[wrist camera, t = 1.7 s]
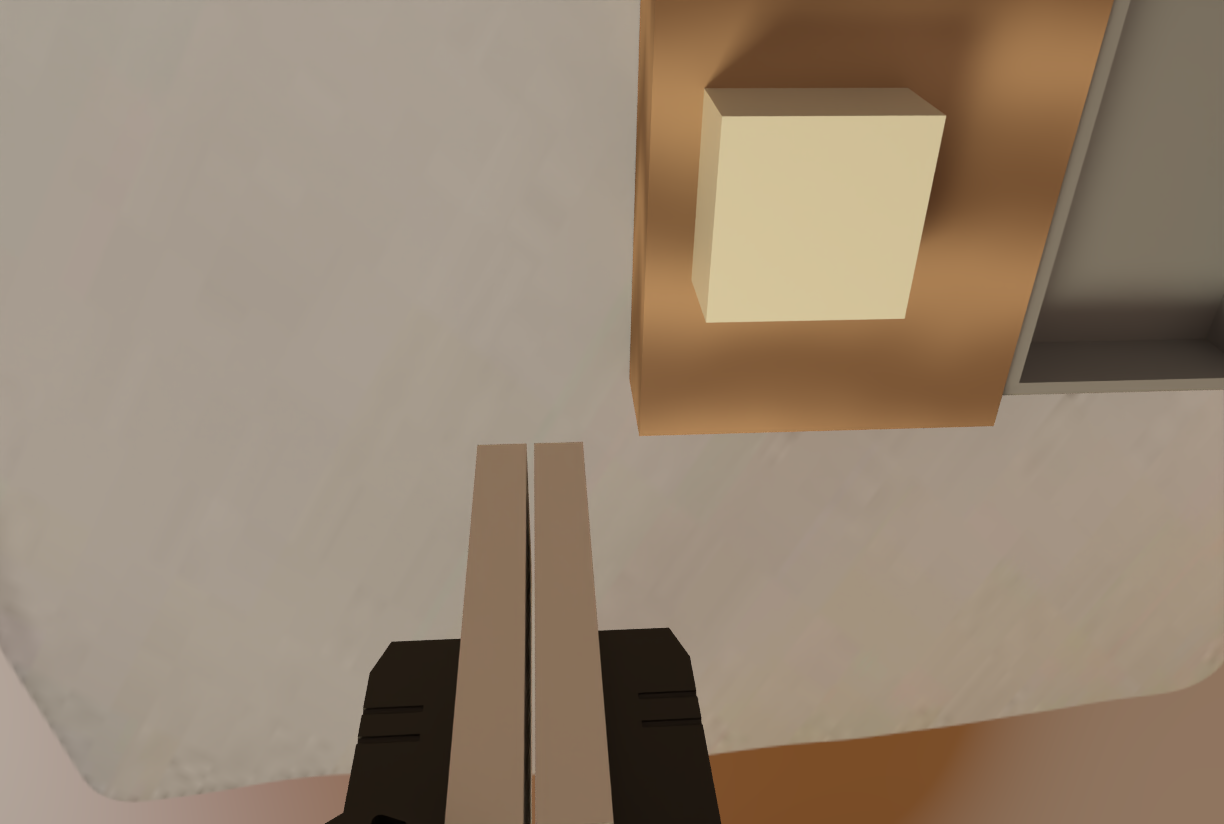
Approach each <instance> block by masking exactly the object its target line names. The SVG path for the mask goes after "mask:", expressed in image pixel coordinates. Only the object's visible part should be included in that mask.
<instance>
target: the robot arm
mask: <svg viewBox="0 0 1224 824" xmlns="http://www.w3.org/2000/svg"><path fill="white" fill-rule="evenodd" d="M534 506H535V780H536V784H535V785H536V787H535V788H536V789H535V790H536V824H721V821H720V814H719V809H718V804H717V799H716V793H715V788H714V783H713V778H712V772H711V767H710V762H709V756H708V751H707V745H706V740H705V735H704V729H703V725H702V723H701V713H700V708H699V703H698V697H697V696H696V687H695V682H694V676H693V671H692V666H691V660H690V656H689V655H688V653H687V652H686V651H685V649H684V648H683V646H682V645H681V644H680V642H679V641H678V640H677V638H676V637H675V635H674V634H673V633H672V631H671V630H670V629H669V628H651V629H627V630H604V631H598V624H597V612H596V599H595V587H594V575H593V562H592V550H591V538H590V525H589V513H588V501H587V488H586V476H585V464H584V451H583V442H567V443H534ZM325 824H532V565H531V541H530V517H529V493H528V469H527V445H526V444H497V445H478V446H477V457H476V469H475V480H474V492H473V503H472V515H471V526H470V538H469V549H468V561H467V572H466V584H465V595H464V607H463V618H462V630H461V639H445V640H422V641H398V642H391V643H390V645H389V646H388V648H387V649H386V651H385V652H384V653H383V655H382V656H381V658H380V659H379V661H378V662H377V664H376V665H375V666H374V668H373V669H372V671H371V672H370V675H369V680H368V685H367V691H366V696H365V701H364V707H363V715H362V717H361V722H360V728H359V733H358V744H356V749H355V754H354V759H353V765H352V770H351V775H350V781H349V786H348V792H347V796H346V802H345V807H344V812H343V813H342V814H340V815H339V816H337V817H335V818H334V819H332V820H330V821H329V822H327V823H325Z"/></svg>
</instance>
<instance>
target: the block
mask: <svg viewBox="0 0 1224 824" xmlns="http://www.w3.org/2000/svg"><path fill="white" fill-rule="evenodd" d="M945 119H946V115H945V114H944V113H942V112H941V111H939V110H938V109H937V108H935V107H934V106H932V105H931V104H930V103H928V102H927V101H925V100H924V99H923V98H921V97H920V96H919V95H917V94H916V93H914V92H913V91H912V90H910V89H909V88H704V99H703V114H702V129H701V144H700V159H699V174H698V189H697V204H696V219H695V235H694V250H693V265H692V283H693V286H694V289H695V292H696V295H697V298H698V301H699V303H700V306H701V309H702V312H703V315H704V318H705V321H706V323H715V322H765V321H816V320H867V319H905V314H906V309H907V304H908V299H909V295H910V290H911V285H912V280H913V275H914V270H915V265H916V261H917V256H918V251H919V246H920V241H921V236H922V231H923V226H924V222H925V217H926V212H927V207H928V202H929V197H930V192H931V188H932V183H933V178H934V173H935V168H936V163H937V158H938V154H939V149H940V144H941V139H942V134H943V129H944V124H945Z"/></svg>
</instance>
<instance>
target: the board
mask: <svg viewBox="0 0 1224 824" xmlns="http://www.w3.org/2000/svg"><path fill="white" fill-rule="evenodd" d="M1113 1H1114V0H641V2H640V36H639V71H638V105H637V139H636V173H635V208H634V242H633V276H632V310H631V344H630V385H631V390H632V396H633V402H634V408H635V413H636V419H637V425H638V431H639V436H651V435H687V434H723V433H759V432H795V431H830V430H866V429H902V428H938V427H974V426H994V423H995V419H996V416H997V412H998V408H999V405H1000V401H1001V398H1002V394H1003V391H1004V387H1005V384H1006V380H1007V377H1008V373H1009V369H1010V366H1011V362H1012V359H1013V355H1014V352H1015V348H1016V345H1017V341H1018V338H1019V334H1020V331H1021V327H1022V323H1023V320H1024V316H1025V313H1026V309H1027V306H1028V302H1029V299H1030V295H1031V292H1032V288H1033V285H1034V281H1035V277H1036V274H1037V270H1038V267H1039V263H1040V260H1041V256H1042V253H1043V249H1044V246H1045V242H1046V238H1047V235H1048V231H1049V228H1050V224H1051V221H1052V217H1053V214H1054V210H1055V207H1056V203H1057V200H1058V196H1059V192H1060V189H1061V185H1062V182H1063V178H1064V175H1065V171H1066V168H1067V164H1068V161H1069V157H1070V154H1071V150H1072V146H1073V143H1074V139H1075V136H1076V132H1077V129H1078V125H1079V122H1080V118H1081V115H1082V111H1083V108H1084V104H1085V100H1086V97H1087V93H1088V90H1089V86H1090V83H1091V79H1092V76H1093V72H1094V69H1095V65H1096V61H1097V58H1098V54H1099V51H1100V47H1101V44H1102V40H1103V37H1104V33H1105V30H1106V26H1107V23H1108V19H1109V15H1110V12H1111V8H1112V5H1113ZM704 88H909V89H910V90H912V91H913V92H914V93H916V94H917V95H919V96H920V97H921V98H923V99H924V100H925V101H927V102H928V103H930V104H931V105H932V106H934V107H935V108H937V109H938V110H939V111H941V112H942V113H944V114H945V115H946V119H945V124H944V129H943V134H942V139H941V144H940V149H939V154H938V158H937V163H936V168H935V173H934V178H933V183H932V188H931V192H930V197H929V202H928V207H927V212H926V217H925V222H924V226H923V231H922V236H921V241H920V246H919V251H918V256H917V261H916V265H915V270H914V275H913V280H912V285H911V290H910V295H909V299H908V304H907V309H906V314H905V319H867V320H816V321H765V322H715V323H706V321H705V318H704V315H703V312H702V309H701V306H700V303H699V301H698V298H697V295H696V292H695V289H694V286H693V283H692V265H693V250H694V235H695V219H696V204H697V189H698V174H699V159H700V144H701V129H702V114H703V99H704Z"/></svg>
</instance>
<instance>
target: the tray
mask: <svg viewBox="0 0 1224 824" xmlns="http://www.w3.org/2000/svg"><path fill="white" fill-rule="evenodd" d="M1188 390H1224V0H1114V1H1113V5H1112V8H1111V12H1110V15H1109V19H1108V23H1107V26H1106V30H1105V33H1104V37H1103V40H1102V44H1101V47H1100V51H1099V54H1098V58H1097V61H1096V65H1095V69H1094V72H1093V76H1092V79H1091V83H1090V86H1089V90H1088V93H1087V97H1086V100H1085V104H1084V108H1083V111H1082V115H1081V118H1080V122H1079V125H1078V129H1077V132H1076V136H1075V139H1074V143H1073V146H1072V150H1071V154H1070V157H1069V161H1068V164H1067V168H1066V171H1065V175H1064V178H1063V182H1062V185H1061V189H1060V192H1059V196H1058V200H1057V203H1056V207H1055V210H1054V214H1053V217H1052V221H1051V224H1050V228H1049V231H1048V235H1047V238H1046V242H1045V246H1044V249H1043V253H1042V256H1041V260H1040V263H1039V267H1038V270H1037V274H1036V277H1035V281H1034V285H1033V288H1032V292H1031V295H1030V299H1029V302H1028V306H1027V309H1026V313H1025V316H1024V320H1023V323H1022V327H1021V331H1020V334H1019V338H1018V341H1017V345H1016V348H1015V352H1014V355H1013V359H1012V362H1011V366H1010V369H1009V373H1008V377H1007V380H1006V384H1005V387H1004V391H1003V394H1002V395H1031V394H1071V393H1110V392H1149V391H1188Z"/></svg>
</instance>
